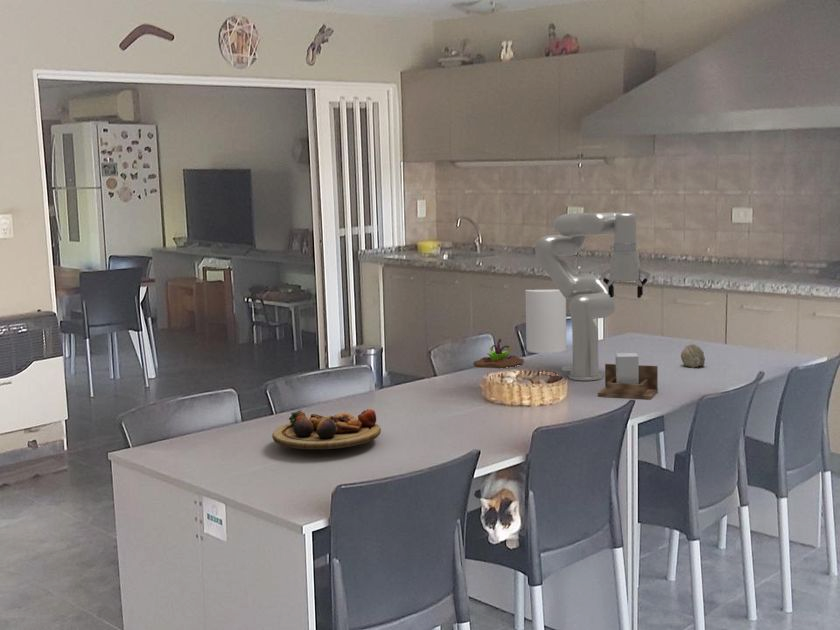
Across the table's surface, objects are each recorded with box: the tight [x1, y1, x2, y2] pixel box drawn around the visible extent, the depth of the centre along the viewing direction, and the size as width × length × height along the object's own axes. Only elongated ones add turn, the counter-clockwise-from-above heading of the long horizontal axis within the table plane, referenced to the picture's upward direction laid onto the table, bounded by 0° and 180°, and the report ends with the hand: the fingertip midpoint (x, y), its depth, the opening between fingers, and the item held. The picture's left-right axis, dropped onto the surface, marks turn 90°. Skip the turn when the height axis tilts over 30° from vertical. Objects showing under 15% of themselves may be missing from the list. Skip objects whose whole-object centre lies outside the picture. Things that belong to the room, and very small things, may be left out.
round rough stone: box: [680, 343, 706, 369], centre depth 380 cm, size 9×8×10 cm
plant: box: [473, 338, 525, 369], centre depth 401 cm, size 20×20×11 cm
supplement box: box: [615, 352, 640, 384], centre depth 337 cm, size 7×7×13 cm
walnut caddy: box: [597, 363, 659, 400], centre depth 337 cm, size 18×13×9 cm
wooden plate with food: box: [271, 408, 382, 450], centre depth 291 cm, size 32×32×8 cm
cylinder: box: [525, 289, 567, 354], centre depth 426 cm, size 17×17×28 cm
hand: (625, 297), depth 345 cm, fingers open, 9 cm apart
